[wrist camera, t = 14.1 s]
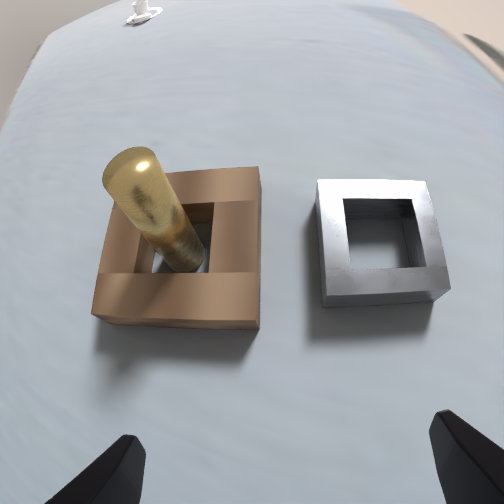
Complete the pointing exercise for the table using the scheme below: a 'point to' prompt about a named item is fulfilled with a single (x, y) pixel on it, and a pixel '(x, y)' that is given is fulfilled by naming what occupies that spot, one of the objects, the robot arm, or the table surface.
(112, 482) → the robot arm
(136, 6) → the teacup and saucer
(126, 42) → the table surface
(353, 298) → the socket block
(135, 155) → the brass cylinder
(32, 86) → the table surface
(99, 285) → the wooden square frame
